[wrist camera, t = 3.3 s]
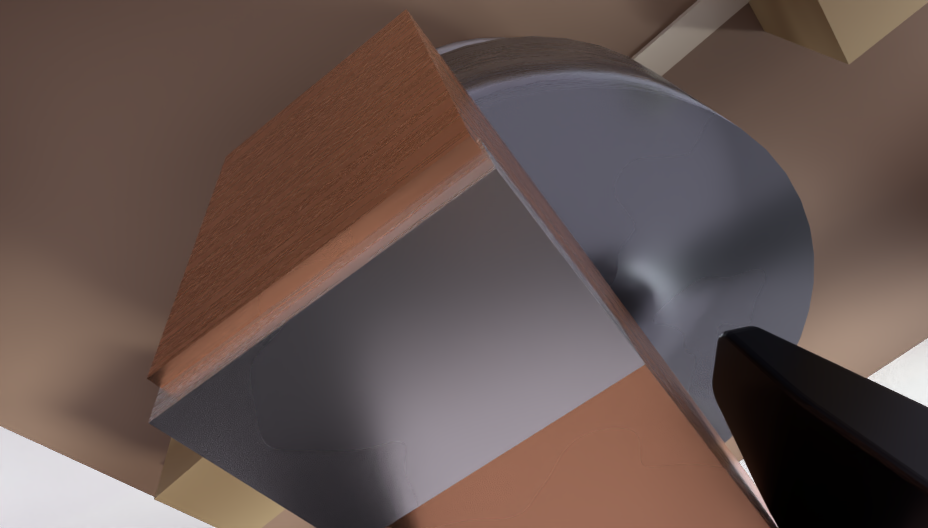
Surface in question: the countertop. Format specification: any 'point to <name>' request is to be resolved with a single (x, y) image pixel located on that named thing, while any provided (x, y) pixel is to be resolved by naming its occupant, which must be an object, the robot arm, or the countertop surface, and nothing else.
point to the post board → (297, 69)
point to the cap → (483, 294)
